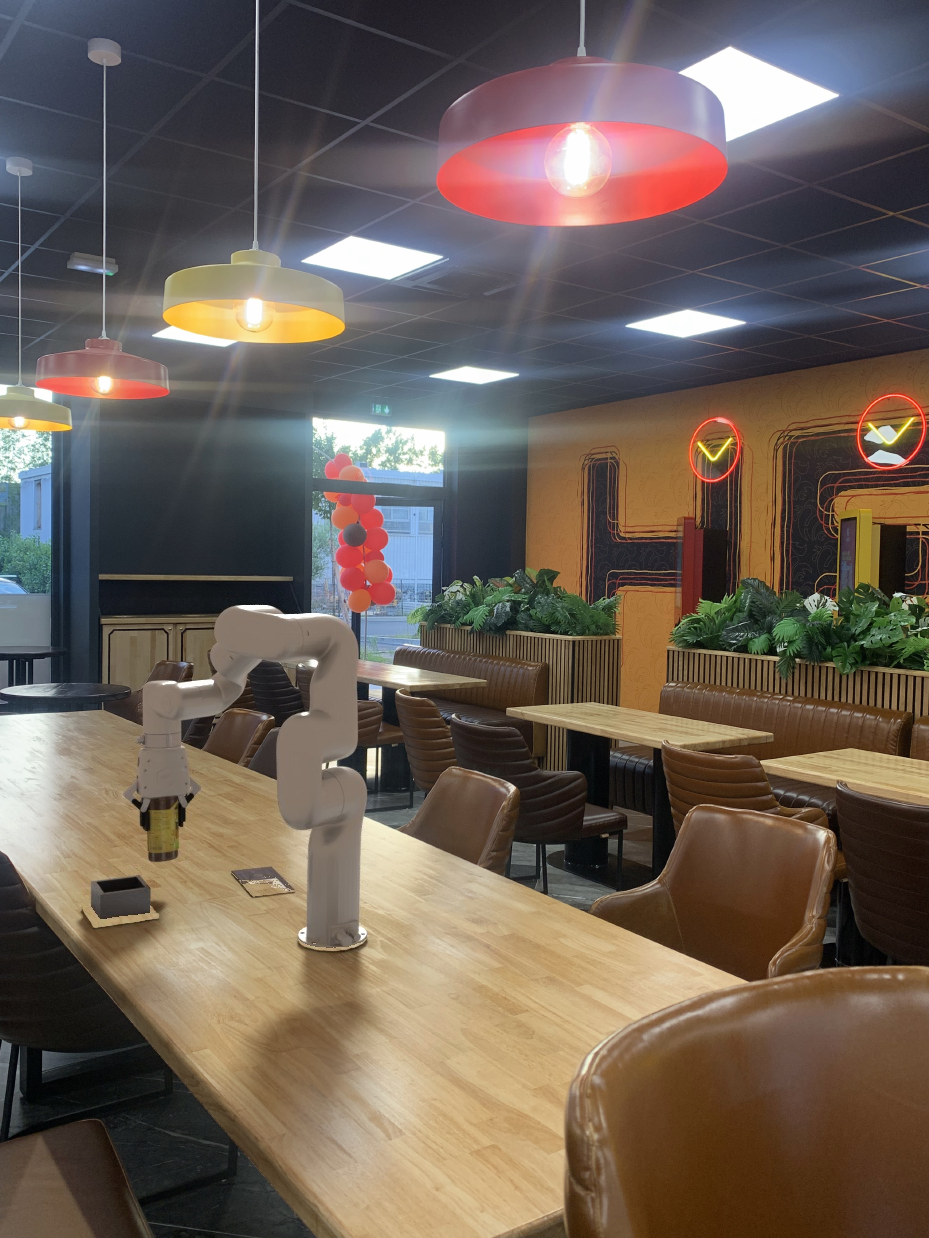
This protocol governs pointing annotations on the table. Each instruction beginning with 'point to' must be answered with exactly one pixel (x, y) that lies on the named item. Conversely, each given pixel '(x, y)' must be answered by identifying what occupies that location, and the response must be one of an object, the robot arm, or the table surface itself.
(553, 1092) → the table surface
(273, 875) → the chocolate bar
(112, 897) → the condiment holder
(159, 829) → the sauce bottle
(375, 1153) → the table surface
